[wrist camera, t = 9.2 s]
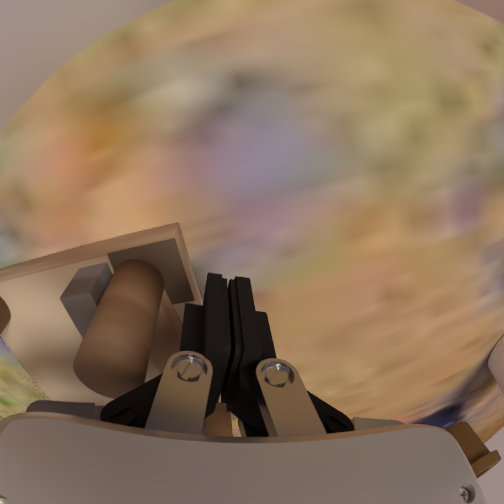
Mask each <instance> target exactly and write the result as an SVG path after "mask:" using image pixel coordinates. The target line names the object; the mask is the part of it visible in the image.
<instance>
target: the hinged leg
mask: <svg viewBox="0 0 504 504" xmlns="http://www.w3.org/2000/svg"><path fill="white" fill-rule="evenodd" d="M182 325H183V323H182V321H181V319H180V318H179V316H178V314H177V312H176V310H175V308H174V307H173V305H172V303H171V301H170V299H169V297H168V295H167V293H166V291H165V289H164V279H163V276H162V274H161V273H160V271H159V270H158V269H157V268H156V267H155V266H154V265H152V264H151V263H149V262H147V261H144V260H140V259H130V260H126V261H124V262H122V263H121V264H120V265H119V266H118V267H117V268H116V270H115V272H114V274H113V276H112V278H111V280H110V282H109V284H108V286H107V288H106V290H105V292H104V294H103V296H102V298H101V300H100V302H99V304H98V306H97V308H96V311H95V313H94V315H93V317H92V319H91V322H90V324H89V326H88V328H87V331H86V333H85V335H84V337H83V340H82V342H81V344H80V347H79V349H78V352H77V354H76V357H75V359H74V362H73V369H74V372H75V374H76V376H77V377H78V379H79V380H80V381H81V382H82V383H83V384H84V385H85V386H86V387H88V388H89V389H90V390H92V391H94V392H96V393H98V394H100V395H102V396H105V397H109V398H113V399H116V398H118V397H120V396H121V395H123V394H125V393H127V392H129V391H131V390H133V389H135V388H136V387H138V386H140V385H142V384H144V383H145V379H146V373H147V368H148V362H149V358H150V359H151V361H152V362H153V363H154V365H155V366H156V368H157V369H158V370H159V372H160V373H161V374H162V373H163V372H164V369H165V366H166V363H167V361H168V359H169V358H170V357H171V356H172V355H173V354H175V353H178V352H180V343H181V334H182ZM205 428H206V418H205V419H204V421H203V427H202V431H203V430H205Z"/></svg>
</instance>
